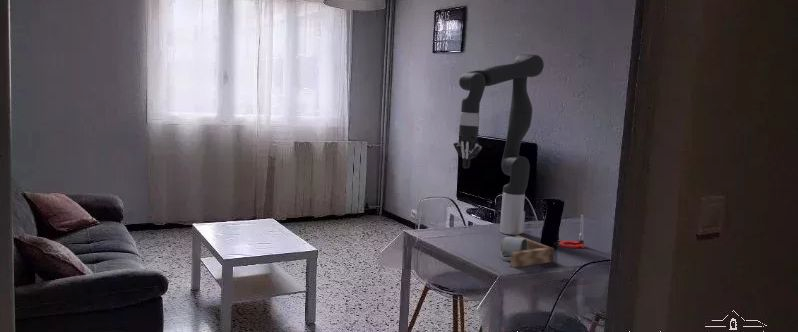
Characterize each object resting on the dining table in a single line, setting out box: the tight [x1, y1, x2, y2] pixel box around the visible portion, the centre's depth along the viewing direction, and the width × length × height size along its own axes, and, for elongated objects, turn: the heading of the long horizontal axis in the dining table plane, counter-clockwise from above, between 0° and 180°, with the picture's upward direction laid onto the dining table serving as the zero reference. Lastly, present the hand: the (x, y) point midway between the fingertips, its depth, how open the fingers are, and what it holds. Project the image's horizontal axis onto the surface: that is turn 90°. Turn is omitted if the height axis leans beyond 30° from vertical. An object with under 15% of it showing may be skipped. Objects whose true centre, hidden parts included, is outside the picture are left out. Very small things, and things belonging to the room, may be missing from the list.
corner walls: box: [510, 235, 555, 268], centre depth 221 cm, size 18×19×5 cm
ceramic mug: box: [500, 236, 528, 262], centre depth 219 cm, size 11×8×8 cm
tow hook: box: [559, 214, 586, 249], centre depth 242 cm, size 8×13×9 cm
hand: (466, 168), depth 238 cm, fingers closed
